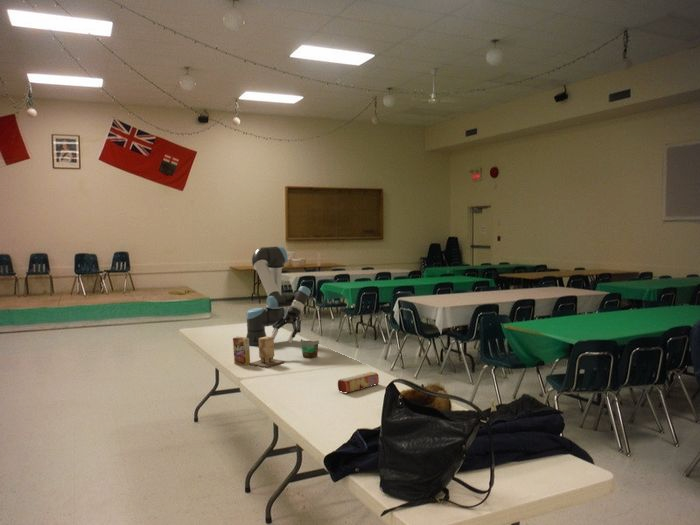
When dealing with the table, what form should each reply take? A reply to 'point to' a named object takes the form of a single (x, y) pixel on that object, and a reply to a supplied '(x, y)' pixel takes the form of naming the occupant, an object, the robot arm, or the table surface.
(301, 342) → the food container
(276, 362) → the peg stand
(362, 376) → the snack package
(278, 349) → the table surface
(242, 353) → the candy box
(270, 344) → the oak block
